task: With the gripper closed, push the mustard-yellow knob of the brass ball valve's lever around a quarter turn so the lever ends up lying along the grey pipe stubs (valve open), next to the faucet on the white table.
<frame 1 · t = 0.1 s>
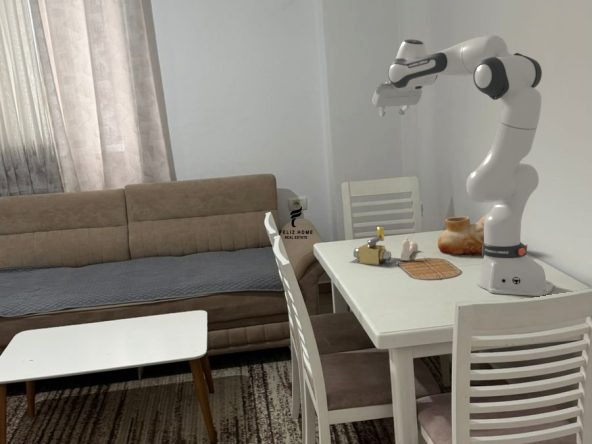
hand: (391, 115, 237), 54 cm above the table, tool tilted 30°, fingers open, 8 cm apart
ceramic vessel: (472, 252, 241), on the table
valve lever: (376, 236, 235), point 9 cm above the table, hinge at 0.0°
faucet: (409, 257, 240), on the table
valve body: (372, 262, 233), resting on valve base plate
valve base plate: (375, 261, 235), on the table
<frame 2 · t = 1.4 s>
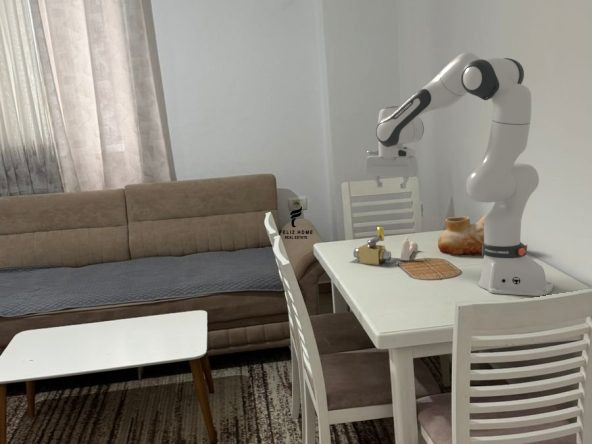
hand: (391, 187, 232), 28 cm above the table, tool pointing down, fingers open, 8 cm apart
nothing on the table moved.
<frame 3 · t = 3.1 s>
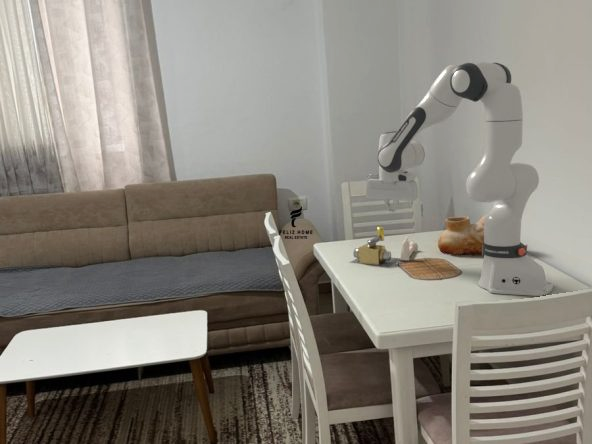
hand: (391, 211, 234), 19 cm above the table, tool pointing down, fingers closed
nothing on the table moved.
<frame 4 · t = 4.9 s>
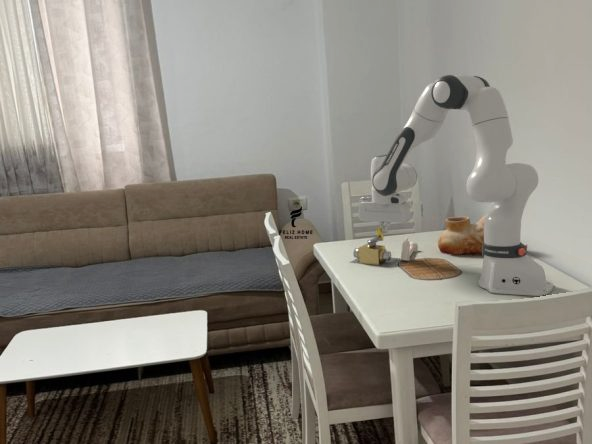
hand: (384, 232, 237), 10 cm above the table, tool pointing down, fingers closed, pressing on valve lever
valve lever: (375, 236, 235), point 9 cm above the table, hinge at 2.0°, touching gripper
everything else where it was.
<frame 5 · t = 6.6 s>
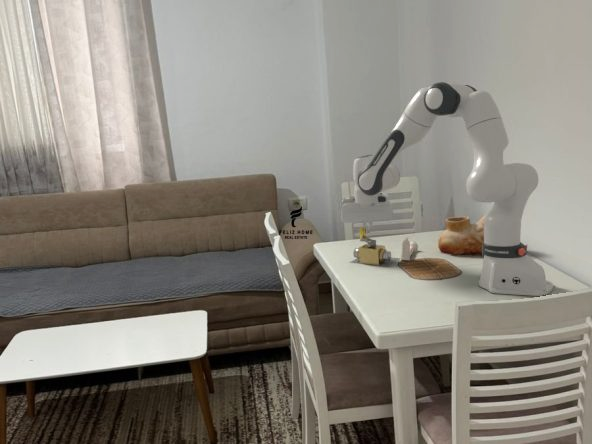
hand: (368, 232, 239), 10 cm above the table, tool pointing down, fingers closed
valve lever: (367, 237, 235), point 9 cm above the table, hinge at 51.0°, touching gripper
everything else where it was.
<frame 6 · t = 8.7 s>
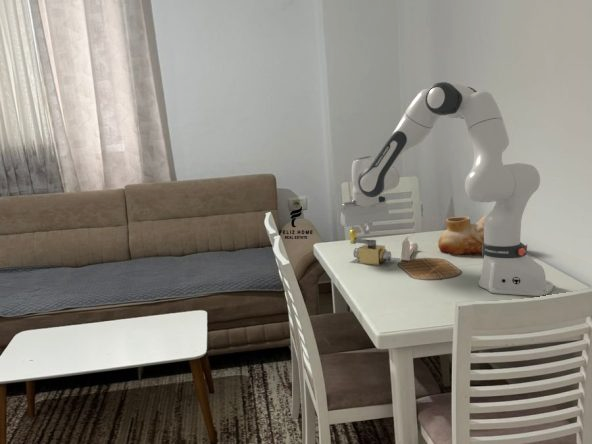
hand: (365, 234, 238), 10 cm above the table, tool pointing down, fingers closed
valve lever: (362, 238, 234), point 9 cm above the table, hinge at 86.5°
everything else where it was.
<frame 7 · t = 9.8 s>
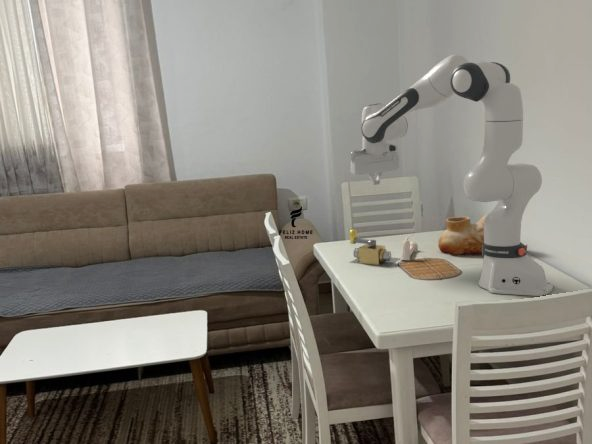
hand: (375, 184, 234), 29 cm above the table, tool pointing down, fingers closed
nothing on the table moved.
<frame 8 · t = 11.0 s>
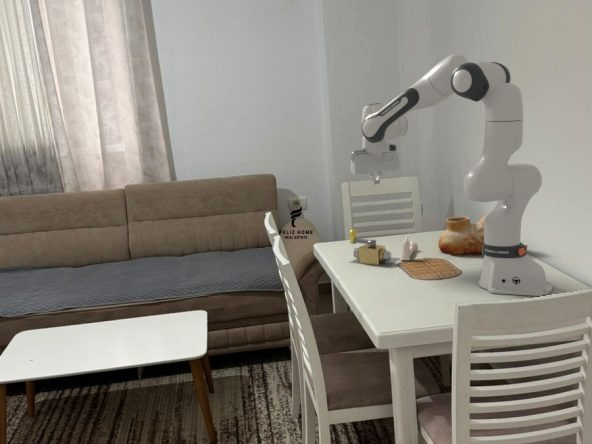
hand: (375, 184, 234), 29 cm above the table, tool pointing down, fingers closed
nothing on the table moved.
at the end: valve lever at +86° (first picture: +0°); valve lever touching nothing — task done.
